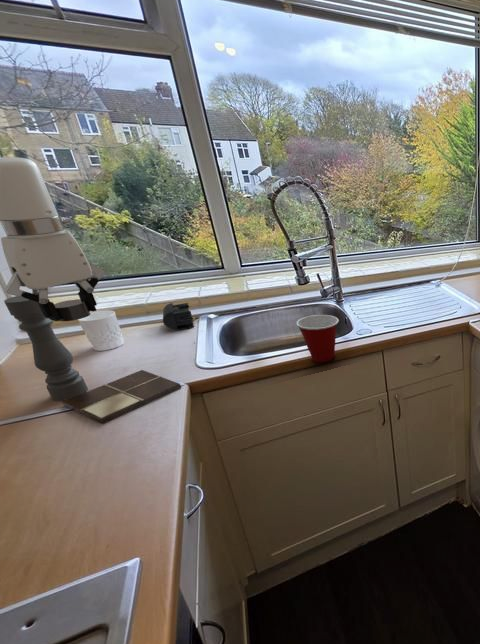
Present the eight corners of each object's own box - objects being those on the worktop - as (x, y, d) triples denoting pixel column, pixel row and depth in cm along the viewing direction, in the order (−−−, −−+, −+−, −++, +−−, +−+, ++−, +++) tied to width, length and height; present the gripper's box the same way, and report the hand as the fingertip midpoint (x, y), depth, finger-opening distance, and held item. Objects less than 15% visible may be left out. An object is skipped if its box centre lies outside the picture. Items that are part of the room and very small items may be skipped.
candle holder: (92, 391, 100) (48, 296, 90) (57, 403, 95) (6, 305, 85) (82, 383, 103) (39, 291, 93) (48, 395, 98) (-2, 299, 88)
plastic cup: (350, 358, 118) (344, 320, 113) (311, 370, 111) (304, 331, 107) (335, 345, 125) (329, 309, 121) (298, 356, 118) (290, 319, 114)
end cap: (167, 323, 138) (160, 304, 135) (192, 318, 142) (187, 300, 139) (166, 333, 130) (160, 314, 128) (194, 328, 134) (188, 309, 132)
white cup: (127, 337, 127) (115, 308, 123) (126, 347, 121) (114, 316, 117) (92, 344, 122) (79, 314, 118) (89, 354, 117) (75, 322, 113)
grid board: (102, 424, 89) (100, 419, 88) (64, 405, 95) (61, 401, 94) (181, 387, 102) (179, 383, 102) (143, 373, 108) (141, 369, 108)
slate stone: (65, 323, 82) (58, 309, 80) (52, 319, 83) (45, 305, 82) (96, 314, 86) (90, 301, 85) (83, 310, 88) (77, 297, 86)
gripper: (81, 218, 86) (113, 299, 93) (-44, 233, 71) (5, 327, 79) (101, 222, 83) (132, 304, 90) (-25, 237, 69) (24, 334, 76)
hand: (73, 314), depth 84 cm, fingers closed on slate stone, 5 cm apart
